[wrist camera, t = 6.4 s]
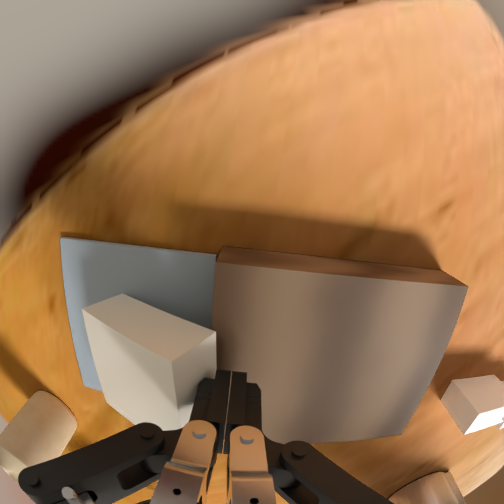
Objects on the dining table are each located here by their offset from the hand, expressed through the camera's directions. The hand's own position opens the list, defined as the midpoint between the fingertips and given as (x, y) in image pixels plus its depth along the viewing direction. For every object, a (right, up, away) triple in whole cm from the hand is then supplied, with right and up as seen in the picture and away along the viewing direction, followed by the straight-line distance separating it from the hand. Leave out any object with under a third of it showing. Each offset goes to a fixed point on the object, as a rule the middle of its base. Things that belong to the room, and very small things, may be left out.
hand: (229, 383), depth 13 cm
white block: (-4, 0, +2) cm, 4 cm away
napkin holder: (+24, -8, +7) cm, 26 cm away
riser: (+6, 0, +4) cm, 7 cm away
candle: (-18, -9, +7) cm, 22 cm away
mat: (-7, +1, +4) cm, 8 cm away
